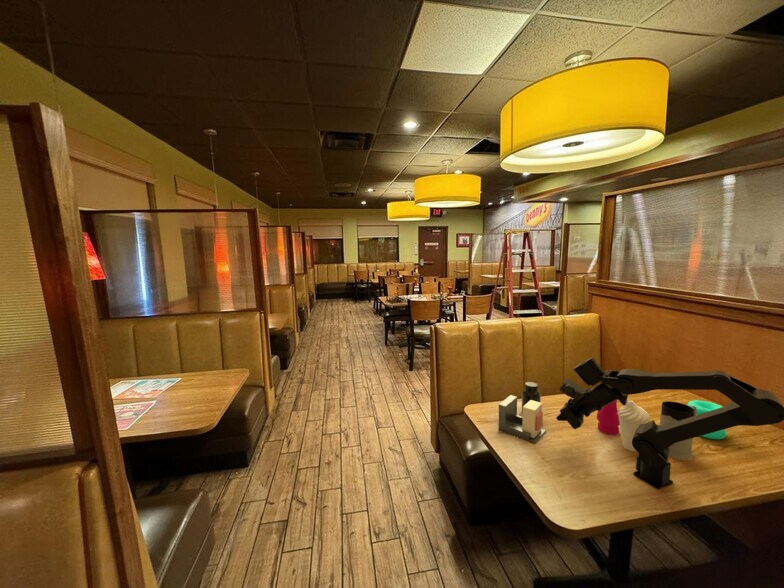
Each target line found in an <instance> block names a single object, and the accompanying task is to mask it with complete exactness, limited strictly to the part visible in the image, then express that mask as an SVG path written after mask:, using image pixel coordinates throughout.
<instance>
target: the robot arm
mask: <svg viewBox="0 0 784 588" xmlns="http://www.w3.org/2000/svg"><path fill="white" fill-rule="evenodd" d="M572 371H573V372H574V373H575V374H576V375H577V376H578V378H580V380H581V381H582V382H583V384H585V385H586V386H587V385H588V386H592V388H589V387H587V388H586V389H584V388H583V387H582V386H580V385H579V384H578V383H576V382H575V381H573V380H571V379H570V378H566V379H565V380H564V381H563V382H562V384H561V385H560V387H559V391H560V392H561V393H563V394H564V395H566V396H567V397H570V398H569V399H568V400H567V402H565V404H564V405H563V406H562V407H561V409H560V410H559V414H558V415H557V416H556V417H555V418H556V420H557V421H558V422H559V421H560V422H567V423H568V424H569V425H570V427H571V428H572V429H573V430H576V429H579V428H581V427H582V425H583V424H584V418H585V417H586V418H589V417H590V415H591V414H593V413H594V412H596V411H597V412H598V411H600V410H601V409H602V408H603V407H604V406H606V405H608V404H610V403H612V402H614V401H616V400H617V401H619V402H620V404H621V405H622V406H623V407H624V406H625V405H626V403H627V402H628V401H629V399H628V398H629V396H630V395H637V394H639V395H640V394H644V393H648V392H651V391H658V390H659V391H660V390H662V391H663V390H666V391H667V390H668V391H669V390H671V391H672V390H673V391H674V390H677V391H678V390H680V391H681V390H683V391H687V390H689V391H690V390H691V391H695V390H696V391H699V390H701V391H702V390H703V391H705V390H706V391H708V390H709V391H711V390H713V391H717V392H719V393H721V394H722V395H724V396H725V397H726V398H727V399H729V400H731V401H730V402H729V403H727V404H726V405H724V406H722V407H721V408H718V409H715V410H712V411H709V412H705V413H702V414H699V415H696V416H693V417H690V418H686V419H683V420H680V421H677V422H674V423H670V424H667V425H660V424H656V422H655V420H654V419H653V420H652V419H651V420H650V421H649V422H648V423H646V424H639V427H638V428H637V429H636V431H635V433H634V436H633V439H632V445H633V447H634V449H635V450H636V451H637V452H636V453H638V456H636V464H635V467H636V468H635V470H636V471H634V472H632V473H633V475H634V476H636V477H637V478H639V479H640V480H642V481H644V482H645V483H647V484H648V485H650V486H651V487H653V488H655V489H657V490H661V489H663V488H665V487H668V486H671V485H673V484H674V481H673V480H671V470H672V469H671V468H672V463H670V462H669V458H670V457H669V452H670V449H669V447H670V446H672V445H673V444H674V443H677V442H681V441H684V440H688V439H691V438H693V439H694V438H698V437H702V435H706V434H709V433H713V432H717V431H720V430H724V429H725V430H727V429H732V428H733V427H737V426H739V427H740V426H748V427H752V426H753V427H759V426H761V427H762V426H769V425H776V424H780V423H782V422H784V404H783V403H782V400H781V399H780V397H779V396H777V395H776V393H773V392H771V391H769V390H766V389H761V388H757V387H755V386H753V385H751V384H750V383H748V382H745V381H743V380H740V379H738V378H736V377H733V376H732V375H730V374H728V373H727V372H725V371H723V370H719V369H718V370H717V369H715V370H709V371H680V372H679V371H675V372H674V371H673V372H649V371H646V370H642V369H635V368H634V369H632V368H625V369H624V368H623V369H621V370H612V369H607V370H604V368H602V367H601V365H600V364H599V363H598V362H597V361H596V359H595V358H594V357H590V358H588V359H586V360H583V361H582V362H580V363H579V364H577V365H576V366H574V367H573V368H572ZM600 382H601V383H600ZM598 383H599V384H598ZM593 386H594V387H593ZM584 416H585V417H584Z"/></svg>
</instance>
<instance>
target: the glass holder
mask: <svg viewBox="0 0 784 588" xmlns="http://www.w3.org/2000/svg"><path fill="white" fill-rule="evenodd" d="M692 407H693V408H694V409H693V408H692ZM696 413H697V409H696V407H695V406H692V405H691V406H688V404H685V403H683V402H682V403H681V402H677V401H670V400H669V401H667V400H666V401H663V402H662V403H661V412H660V417H659V425H667V424H670V423H674V422H677V421H680V420H683V419H686V418H690V417H693V416H696ZM693 439H694V438H691V439H688V440H684V441H681V442H677V443H674V444H673V445H672V446H670V447H669V449H670V452H669V458H672V459H674V460H678V461H684V460H689V461H691V459H692V460H693V459H694V456H693V452H692V451H693Z"/></svg>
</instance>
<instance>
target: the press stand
mask: <svg viewBox="0 0 784 588" xmlns="http://www.w3.org/2000/svg"><path fill="white" fill-rule="evenodd" d="M522 422H523V416H520V415H518V396H515V395H512V394H510V395H509V396H507V397H506V398H505V399H503V400H502V401H501V402H500V403H498V429H497V431H499V432H501V431H502V433H504V432H505V434H506V435H507V434H508V435H509V434H510V435H509V436H512V437H514V436H515V437H514V438H517V437H518V439H520V440H523V441H525V442H527V441H528V443H531V444H533V445H536V444H537V443H538V442H539V441H540V440H541V439H542V437H543V436H544V435H545V434H546V433H547V430H546V429H544V428H542V430H541V431H540V432H539V433H538V434H537V436H536V437H535V438H532V437H531V433H529V432H526V431H523V430H522Z"/></svg>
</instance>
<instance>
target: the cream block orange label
mask: <svg viewBox="0 0 784 588" xmlns="http://www.w3.org/2000/svg"><path fill="white" fill-rule="evenodd" d="M543 415H544V412H543V402H541V403H540V402H536V401H533V400H530V401H529V402H528V403H527V404H525V405H524V406H523V412H522V417H523V422H522V430H523V431H526V432H529V433H531V437H532V438H535V437H536V436H537V434H538V433H539V432H540V431H541V430H542V429H543V428H542V426H543V423H544V422H543V421H544V420H543Z"/></svg>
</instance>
